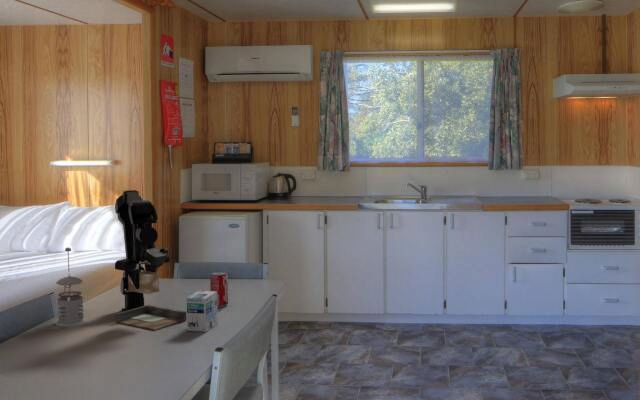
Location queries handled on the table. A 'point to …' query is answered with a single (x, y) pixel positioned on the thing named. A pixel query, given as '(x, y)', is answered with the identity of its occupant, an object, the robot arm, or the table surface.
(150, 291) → the maple block
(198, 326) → the light bulb box
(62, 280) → the french press
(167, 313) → the tray
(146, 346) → the table surface
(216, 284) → the soda can
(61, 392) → the table surface
